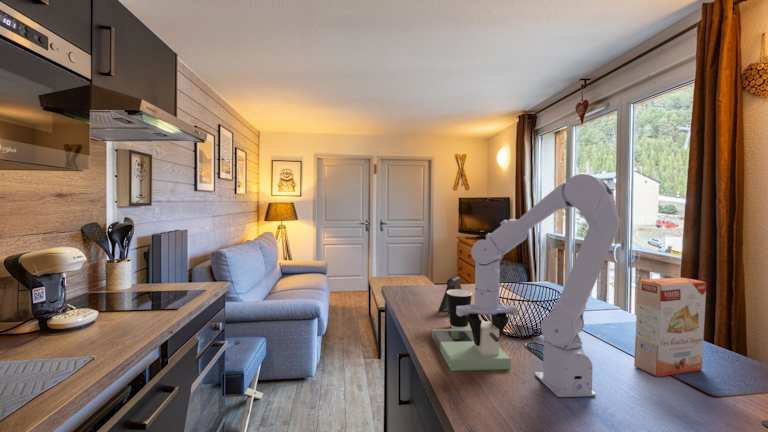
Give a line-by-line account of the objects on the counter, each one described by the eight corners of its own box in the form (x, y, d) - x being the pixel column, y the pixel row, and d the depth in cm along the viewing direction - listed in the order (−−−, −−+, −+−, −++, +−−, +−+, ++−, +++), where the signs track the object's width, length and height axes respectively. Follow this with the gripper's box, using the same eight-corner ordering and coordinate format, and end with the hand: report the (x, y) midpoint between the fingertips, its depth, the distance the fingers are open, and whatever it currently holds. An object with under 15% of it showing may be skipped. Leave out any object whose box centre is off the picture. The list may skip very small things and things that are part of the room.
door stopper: (438, 310, 125) (438, 277, 125) (445, 306, 130) (445, 275, 130) (462, 315, 120) (463, 280, 120) (468, 311, 125) (468, 277, 125)
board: (510, 369, 80) (510, 358, 80) (451, 370, 79) (451, 359, 79) (480, 336, 100) (480, 328, 100) (432, 337, 99) (432, 328, 99)
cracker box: (659, 379, 76) (662, 284, 76) (632, 366, 82) (635, 278, 81) (705, 371, 80) (708, 281, 79) (676, 360, 86) (679, 276, 85)
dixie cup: (456, 321, 114) (457, 288, 113) (477, 328, 107) (477, 292, 107) (440, 326, 108) (441, 291, 108) (461, 334, 102) (461, 296, 102)
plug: (505, 361, 79) (505, 335, 78) (487, 361, 78) (488, 335, 78) (487, 343, 89) (488, 320, 89) (472, 343, 89) (473, 320, 89)
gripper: (508, 284, 89) (507, 337, 89) (453, 285, 88) (452, 338, 88) (521, 291, 82) (520, 348, 82) (461, 292, 81) (460, 349, 81)
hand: (486, 344), depth 85 cm, fingers closed on plug, 4 cm apart
